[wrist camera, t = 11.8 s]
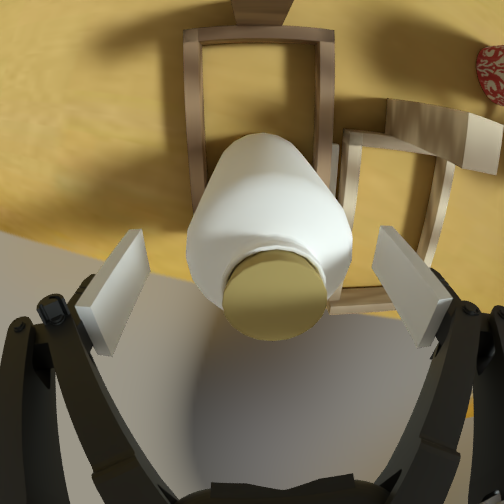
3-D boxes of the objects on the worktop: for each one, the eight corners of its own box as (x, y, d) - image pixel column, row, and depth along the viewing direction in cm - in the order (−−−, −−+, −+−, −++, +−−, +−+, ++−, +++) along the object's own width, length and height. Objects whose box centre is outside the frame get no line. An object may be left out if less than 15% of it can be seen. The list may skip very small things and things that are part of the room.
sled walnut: (188, 1, 18) (144, -53, 7) (327, 2, 18) (378, -50, 7) (199, 230, 29) (172, 311, 19) (320, 228, 29) (354, 308, 19)
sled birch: (344, 92, 22) (411, 96, 12) (450, 112, 22) (534, 138, 12) (324, 297, 33) (347, 381, 23) (411, 292, 33) (452, 362, 23)
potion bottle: (198, 165, 26) (124, 282, 11) (273, 113, 24) (316, 152, 8) (250, 231, 30) (249, 388, 14) (321, 186, 27) (402, 317, 12)
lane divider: (329, 142, 25) (331, 144, 24) (336, 143, 25) (339, 144, 24) (315, 285, 33) (317, 290, 32) (321, 285, 33) (323, 289, 32)
